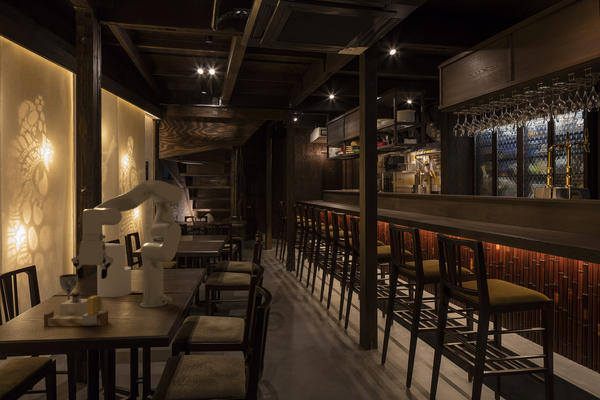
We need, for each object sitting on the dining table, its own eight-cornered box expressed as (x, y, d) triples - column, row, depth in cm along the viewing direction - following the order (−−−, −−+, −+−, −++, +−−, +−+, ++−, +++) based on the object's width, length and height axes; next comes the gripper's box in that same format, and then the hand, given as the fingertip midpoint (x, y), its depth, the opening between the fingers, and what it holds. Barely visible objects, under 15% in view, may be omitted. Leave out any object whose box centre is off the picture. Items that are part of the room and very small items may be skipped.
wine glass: (57, 308, 200) (57, 277, 200) (62, 304, 208) (62, 274, 208) (75, 306, 202) (75, 276, 202) (79, 302, 210) (79, 273, 210)
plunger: (82, 306, 187) (81, 292, 187) (77, 309, 183) (77, 293, 183) (74, 307, 187) (73, 292, 187) (69, 309, 183) (69, 293, 183)
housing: (91, 313, 190) (90, 298, 190) (80, 320, 180) (80, 304, 180) (71, 314, 190) (71, 299, 190) (59, 320, 180) (59, 304, 180)
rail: (108, 322, 177) (108, 310, 177) (102, 325, 172) (102, 314, 172) (51, 322, 177) (51, 311, 177) (44, 326, 172) (43, 314, 172)
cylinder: (111, 298, 218) (110, 246, 218) (90, 295, 227) (90, 244, 227) (138, 292, 233) (137, 242, 233) (118, 288, 242) (117, 241, 242)
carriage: (104, 319, 178) (103, 295, 178) (96, 324, 171) (96, 298, 171) (90, 319, 178) (89, 295, 178) (82, 324, 171) (81, 299, 171)
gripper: (116, 237, 178) (116, 276, 178) (76, 237, 178) (76, 276, 178) (109, 238, 170) (109, 280, 170) (67, 238, 170) (67, 280, 170)
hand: (92, 278), depth 174 cm, fingers open, 9 cm apart
